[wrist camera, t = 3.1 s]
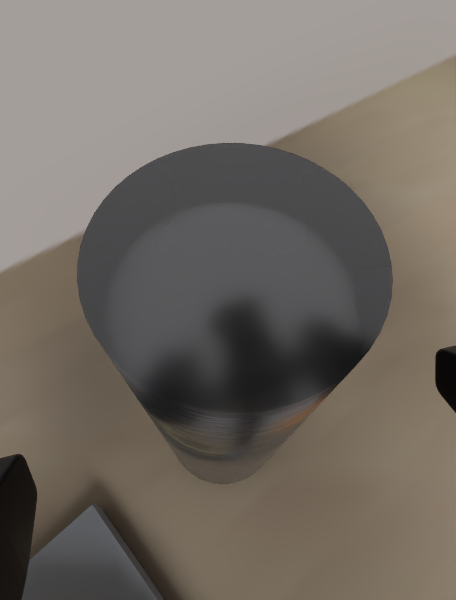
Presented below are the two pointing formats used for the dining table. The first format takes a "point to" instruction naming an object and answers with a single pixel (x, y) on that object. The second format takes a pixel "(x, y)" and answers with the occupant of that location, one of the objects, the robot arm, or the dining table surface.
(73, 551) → the nut plate
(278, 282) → the shiny metal cylinder
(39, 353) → the dining table surface
